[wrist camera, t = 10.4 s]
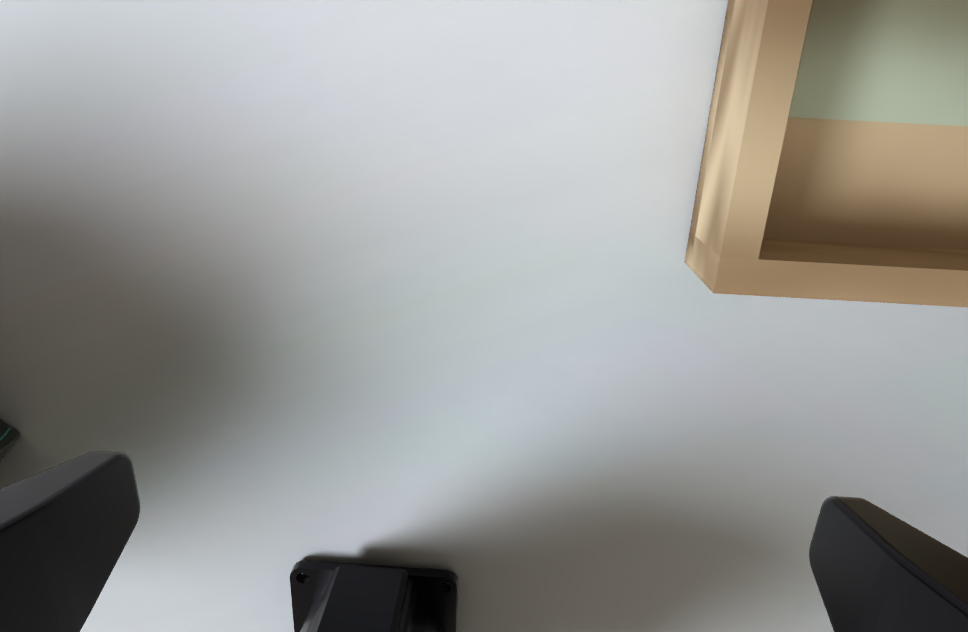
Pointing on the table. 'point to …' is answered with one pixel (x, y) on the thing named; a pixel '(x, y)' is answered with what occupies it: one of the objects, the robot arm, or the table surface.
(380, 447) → the table surface
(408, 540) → the table surface
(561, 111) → the table surface
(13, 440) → the tampon box
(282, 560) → the table surface
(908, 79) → the wooden tray
